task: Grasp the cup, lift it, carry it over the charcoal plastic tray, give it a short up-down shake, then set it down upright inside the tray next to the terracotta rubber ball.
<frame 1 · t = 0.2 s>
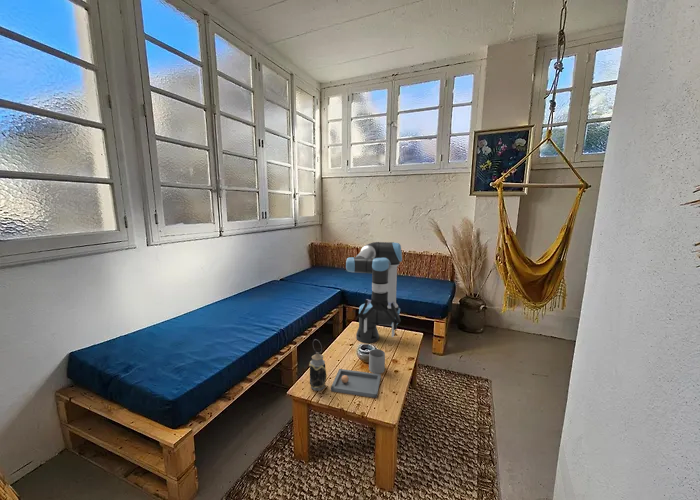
hand: (378, 333, 137), 27 cm above the table, fingers open, 13 cm apart
ball: (344, 382, 142), point 1 cm above the table, touching tray
lantern: (318, 387, 139), on the table
cup: (376, 370, 154), on the table
tray: (356, 385, 141), on the table
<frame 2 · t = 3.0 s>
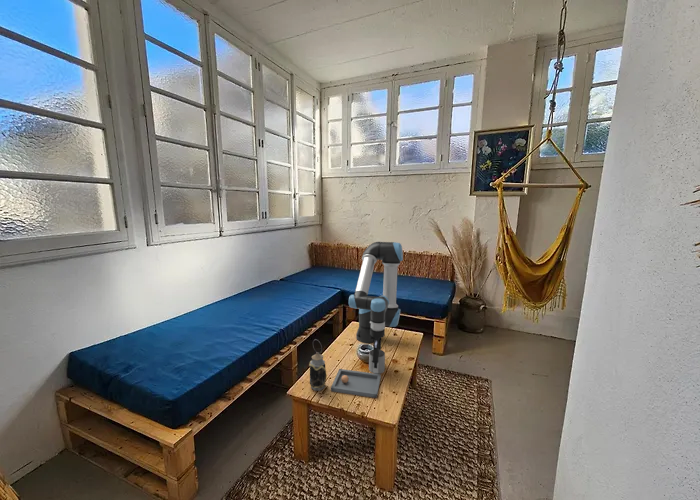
hand: (376, 367, 154), 1 cm above the table, fingers closed on cup, 8 cm apart
cup: (376, 370, 154), on the table, touching gripper
everything else where it was.
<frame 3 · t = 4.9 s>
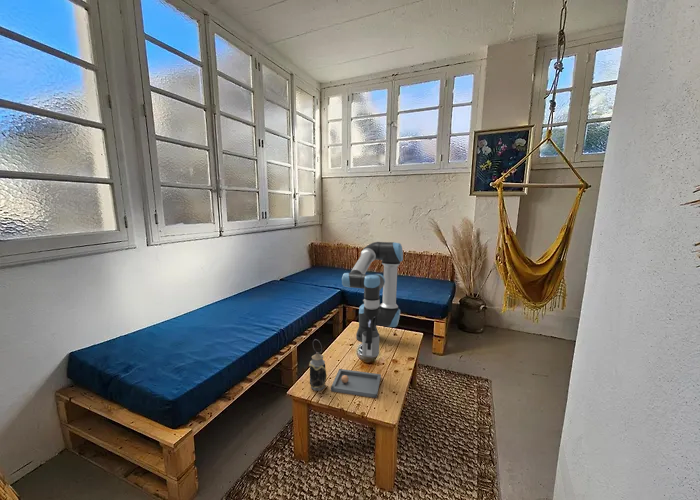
hand: (370, 350, 142), 16 cm above the table, fingers closed on cup, 8 cm apart
cup: (370, 353, 143), point 15 cm above the table, touching gripper
everything else where it was.
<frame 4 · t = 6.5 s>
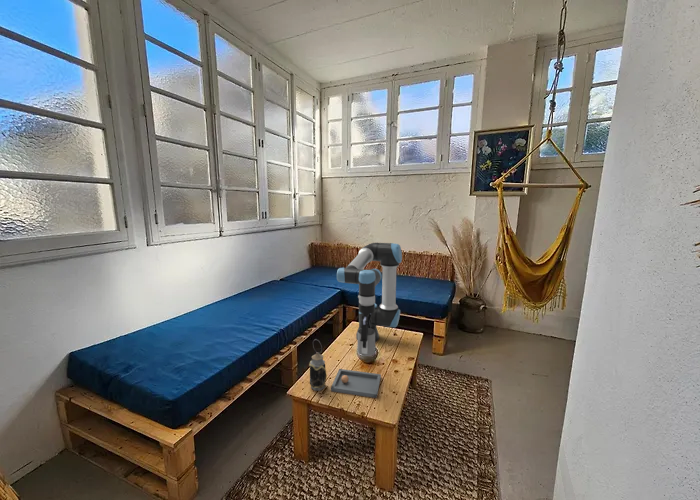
hand: (366, 348, 137), 20 cm above the table, fingers closed on cup, 8 cm apart
cup: (366, 351, 137), point 19 cm above the table, touching gripper
everything else where it was.
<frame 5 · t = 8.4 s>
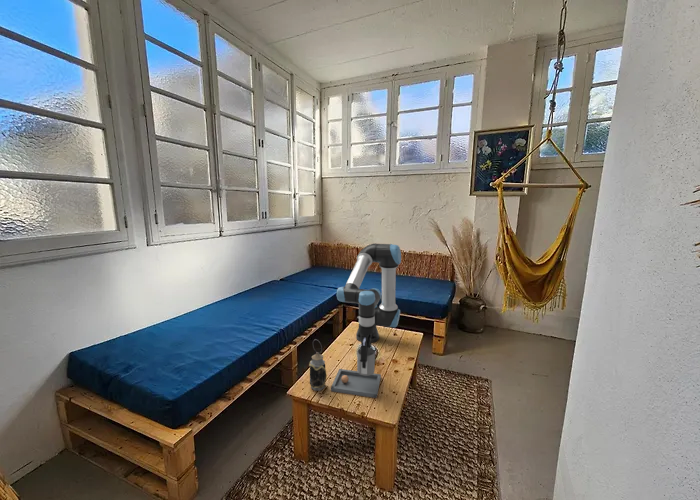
hand: (365, 368, 139), 10 cm above the table, fingers closed on cup, 8 cm apart
cup: (365, 370, 139), point 8 cm above the table, touching gripper
everything else where it was.
when the fingers open (4 cm above the table, at t = 10.1 s): cup drops 2 cm, resting on tray.
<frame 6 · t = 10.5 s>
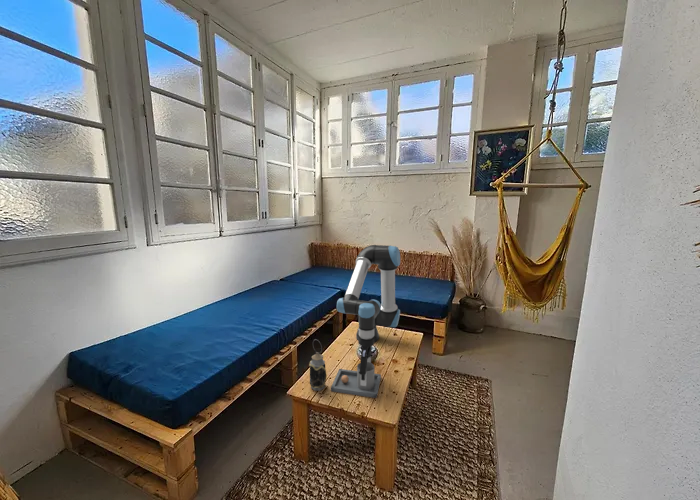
hand: (365, 376, 139), 5 cm above the table, fingers open, 13 cm apart
cup: (365, 385, 140), resting on tray
everything else where it was.
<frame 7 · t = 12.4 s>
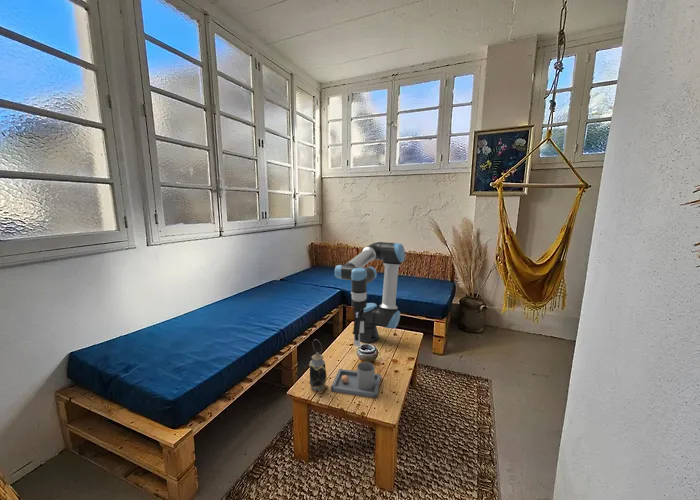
hand: (359, 338, 146), 21 cm above the table, fingers open, 13 cm apart
nothing on the table moved.
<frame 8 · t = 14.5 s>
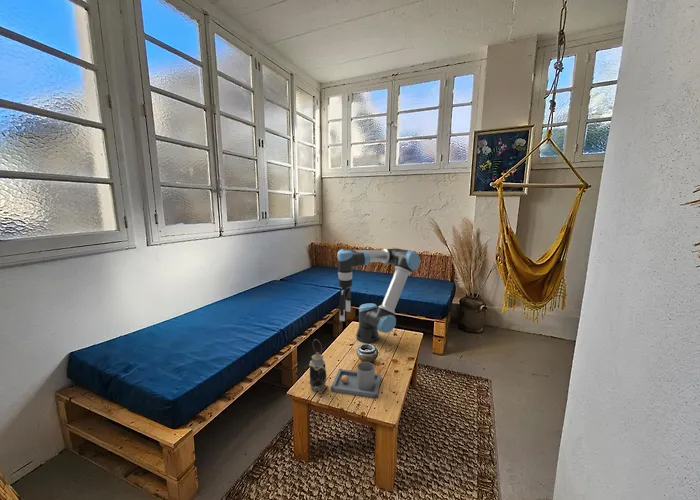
hand: (345, 315, 160), 27 cm above the table, fingers open, 13 cm apart
nothing on the table moved.
at the end: cup inside the target area on the tray (0.2 cm from its centre), point 0.4 cm above the tray's base; cup tilted 0°; the gripper is holding nothing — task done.
